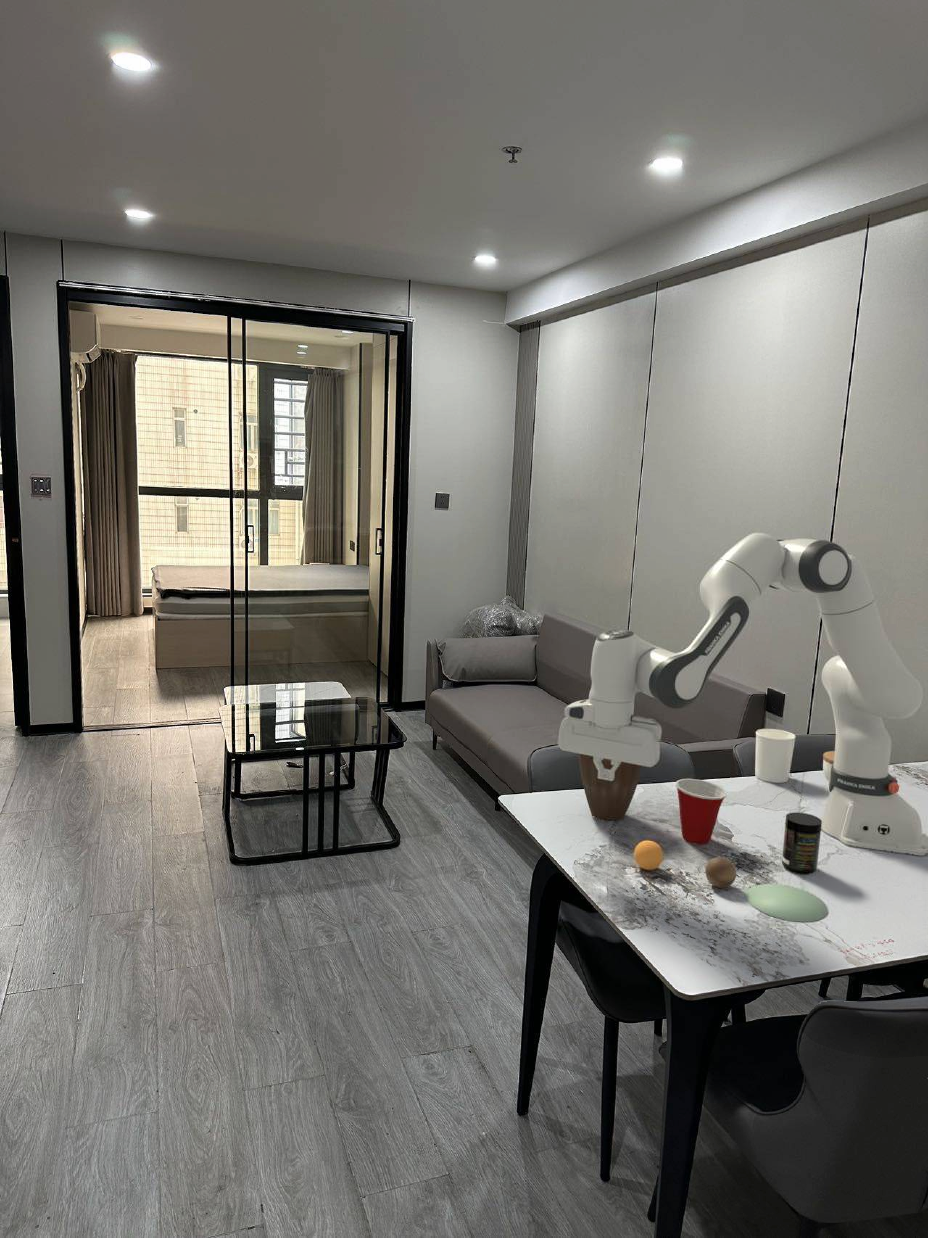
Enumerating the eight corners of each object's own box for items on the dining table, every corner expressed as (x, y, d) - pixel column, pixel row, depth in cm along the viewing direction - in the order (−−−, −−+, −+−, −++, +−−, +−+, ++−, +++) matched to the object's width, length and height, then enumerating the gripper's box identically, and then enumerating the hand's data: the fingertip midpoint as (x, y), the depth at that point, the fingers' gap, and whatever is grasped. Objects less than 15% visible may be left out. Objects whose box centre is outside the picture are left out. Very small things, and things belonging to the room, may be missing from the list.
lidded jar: (875, 791, 218) (878, 756, 217) (840, 794, 215) (843, 758, 214) (845, 777, 228) (848, 743, 227) (811, 780, 225) (814, 746, 224)
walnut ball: (737, 884, 164) (740, 856, 163) (731, 896, 159) (734, 867, 158) (708, 877, 166) (710, 849, 165) (701, 888, 161) (703, 860, 161)
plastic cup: (725, 852, 178) (730, 797, 176) (672, 846, 180) (676, 792, 178) (721, 832, 188) (725, 780, 186) (670, 827, 190) (674, 775, 189)
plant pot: (627, 834, 186) (632, 763, 183) (564, 819, 193) (567, 750, 190) (649, 812, 199) (653, 746, 196) (588, 799, 206) (592, 735, 203)
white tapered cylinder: (770, 786, 220) (774, 740, 218) (744, 773, 229) (747, 730, 227) (799, 781, 224) (804, 737, 222) (772, 770, 232) (776, 727, 231)
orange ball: (665, 866, 170) (667, 840, 169) (657, 877, 165) (659, 850, 164) (638, 860, 173) (639, 833, 172) (629, 870, 168) (631, 843, 167)
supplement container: (824, 874, 169) (829, 823, 168) (795, 877, 167) (800, 826, 166) (801, 859, 176) (806, 811, 174) (774, 862, 174) (778, 813, 172)
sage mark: (831, 897, 160) (831, 896, 160) (822, 929, 148) (822, 928, 147) (753, 878, 166) (753, 877, 166) (739, 908, 154) (739, 907, 154)
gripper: (666, 717, 167) (661, 785, 169) (568, 700, 176) (564, 765, 178) (657, 724, 161) (652, 794, 163) (557, 707, 171) (553, 773, 173)
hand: (605, 779), depth 171 cm, fingers closed
